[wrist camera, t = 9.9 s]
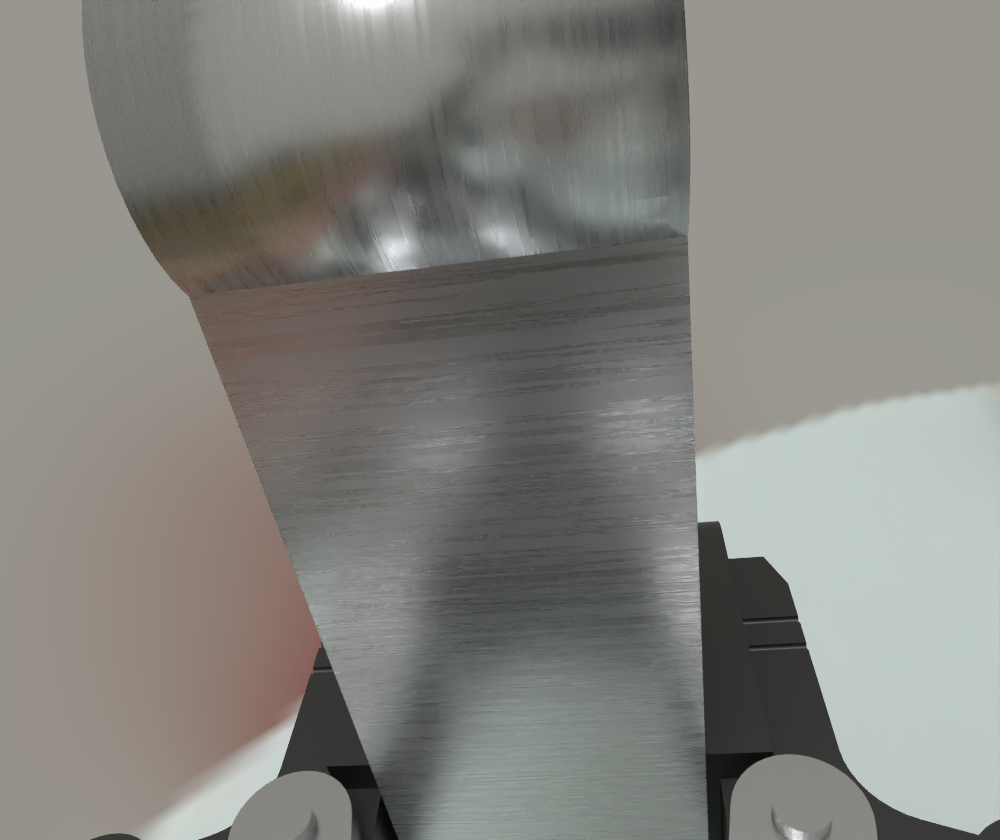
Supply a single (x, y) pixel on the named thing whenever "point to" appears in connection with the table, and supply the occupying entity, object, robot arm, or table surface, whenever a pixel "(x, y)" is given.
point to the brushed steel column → (451, 371)
